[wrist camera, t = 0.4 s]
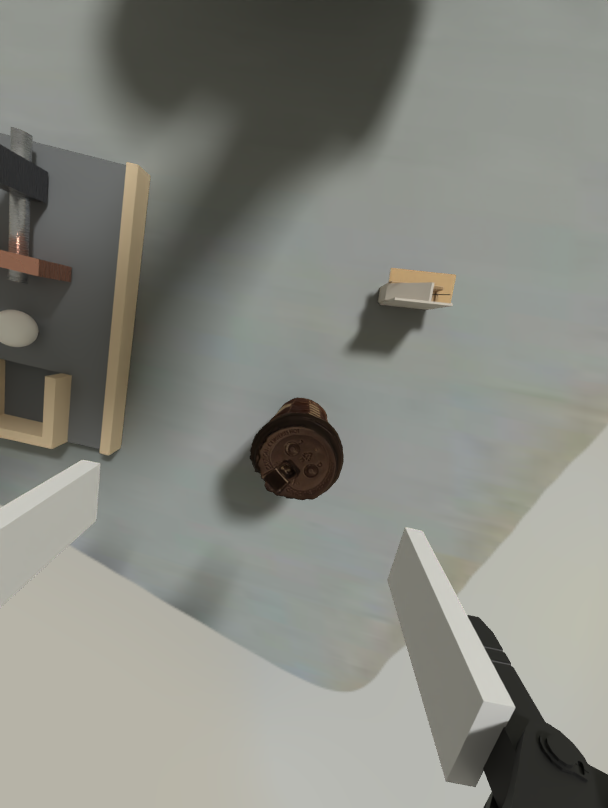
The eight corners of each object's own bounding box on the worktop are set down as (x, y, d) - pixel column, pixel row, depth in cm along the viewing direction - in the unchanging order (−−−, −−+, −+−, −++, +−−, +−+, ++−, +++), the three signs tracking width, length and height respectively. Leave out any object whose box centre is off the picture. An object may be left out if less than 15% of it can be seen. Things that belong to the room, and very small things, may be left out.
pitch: (-56, 123, 35) (-102, 98, 31) (150, 176, 35) (130, 157, 31) (-50, 409, 42) (-86, 417, 38) (120, 448, 43) (101, 460, 39)
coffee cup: (267, 452, 42) (247, 506, 30) (265, 389, 40) (244, 418, 28) (334, 453, 42) (344, 508, 29) (336, 389, 40) (347, 419, 27)
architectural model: (381, 273, 37) (398, 260, 30) (442, 279, 37) (473, 268, 30) (377, 304, 38) (392, 299, 31) (436, 311, 38) (465, 307, 31)
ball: (13, 306, 37) (-22, 304, 33) (48, 315, 37) (17, 313, 34) (12, 341, 38) (-22, 343, 34) (46, 349, 38) (16, 352, 34)
